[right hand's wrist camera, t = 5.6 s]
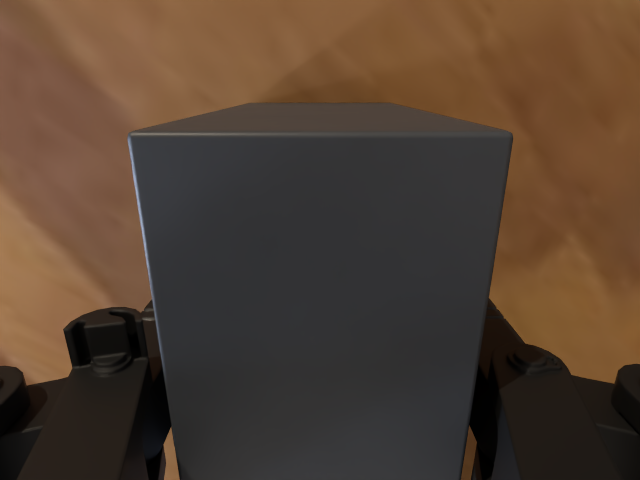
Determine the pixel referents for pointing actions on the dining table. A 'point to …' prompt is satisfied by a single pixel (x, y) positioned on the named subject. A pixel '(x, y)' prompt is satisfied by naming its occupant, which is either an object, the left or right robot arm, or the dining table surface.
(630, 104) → the dining table surface
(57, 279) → the dining table surface
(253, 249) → the beam
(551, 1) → the dining table surface
